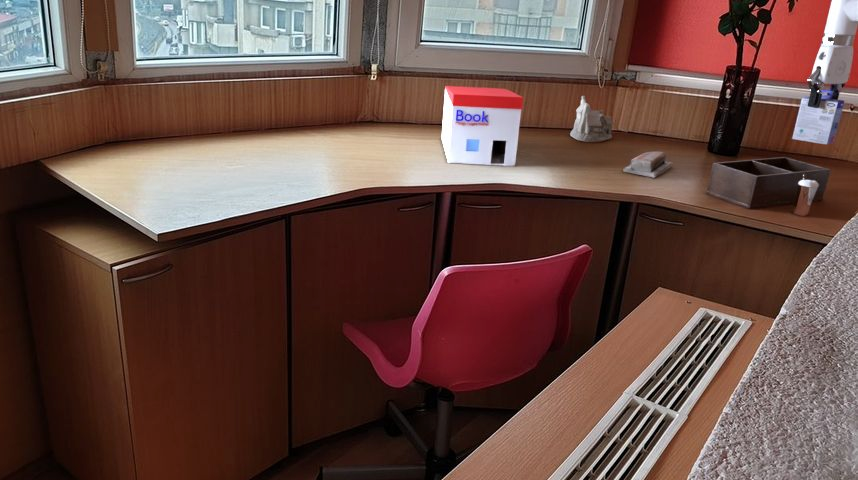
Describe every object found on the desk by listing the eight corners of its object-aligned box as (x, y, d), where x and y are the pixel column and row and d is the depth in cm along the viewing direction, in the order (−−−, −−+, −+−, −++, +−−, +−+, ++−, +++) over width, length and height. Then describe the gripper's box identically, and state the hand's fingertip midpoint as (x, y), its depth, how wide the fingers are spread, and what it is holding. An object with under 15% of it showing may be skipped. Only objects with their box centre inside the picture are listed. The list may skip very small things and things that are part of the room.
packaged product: (658, 162, 212) (624, 157, 217) (655, 178, 213) (622, 172, 219) (674, 152, 225) (643, 147, 231) (671, 167, 227) (640, 162, 232)
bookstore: (448, 163, 220) (453, 94, 212) (441, 138, 252) (445, 78, 245) (515, 166, 220) (523, 97, 212) (500, 141, 253) (506, 80, 245)
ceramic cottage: (575, 140, 258) (583, 98, 253) (566, 133, 273) (574, 93, 268) (618, 145, 258) (627, 103, 253) (607, 137, 273) (615, 97, 268)
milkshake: (803, 210, 189) (813, 174, 185) (813, 217, 184) (824, 179, 180) (785, 210, 189) (795, 173, 185) (795, 216, 184) (805, 178, 180)
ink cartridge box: (835, 143, 206) (848, 92, 201) (828, 145, 203) (841, 93, 198) (798, 137, 213) (810, 87, 208) (791, 139, 210) (803, 89, 204)
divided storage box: (822, 200, 199) (831, 169, 196) (749, 209, 188) (757, 176, 185) (777, 186, 212) (784, 156, 208) (706, 193, 201) (712, 162, 197)
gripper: (829, 42, 191) (812, 110, 198) (871, 42, 198) (854, 107, 205) (803, 40, 198) (788, 105, 204) (845, 40, 204) (830, 103, 211)
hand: (821, 106), depth 204 cm, fingers closed on ink cartridge box, 6 cm apart
